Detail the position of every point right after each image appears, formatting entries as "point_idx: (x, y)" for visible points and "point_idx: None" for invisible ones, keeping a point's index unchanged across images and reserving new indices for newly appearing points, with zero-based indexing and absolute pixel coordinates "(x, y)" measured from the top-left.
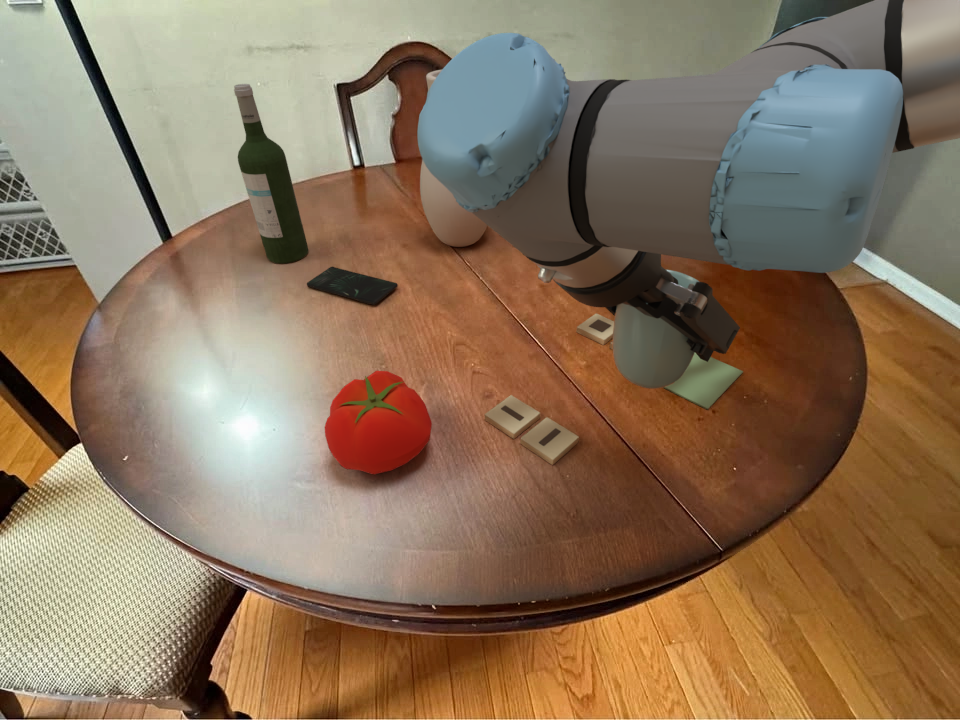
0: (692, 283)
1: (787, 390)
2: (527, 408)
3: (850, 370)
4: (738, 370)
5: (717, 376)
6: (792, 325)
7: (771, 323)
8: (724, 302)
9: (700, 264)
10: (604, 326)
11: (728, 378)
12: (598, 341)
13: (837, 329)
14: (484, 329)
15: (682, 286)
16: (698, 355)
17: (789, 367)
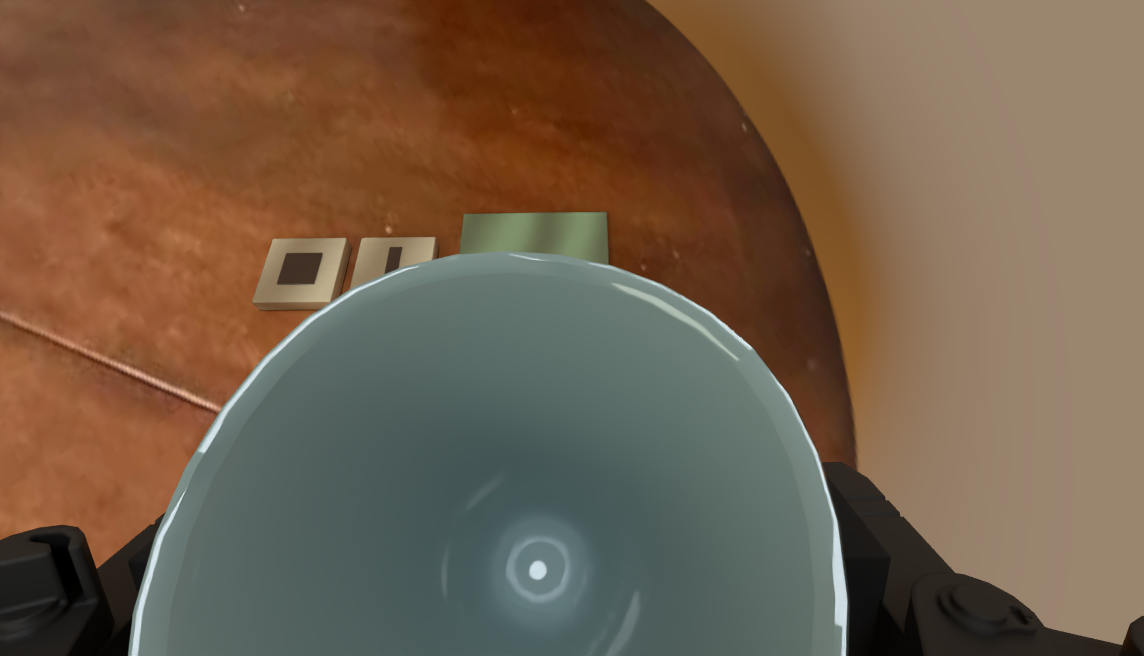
0: (592, 295)
1: (688, 208)
2: None
3: (734, 111)
4: (599, 215)
5: (577, 251)
6: (607, 68)
7: (577, 81)
8: (483, 76)
9: (396, 13)
10: (310, 265)
11: (596, 244)
12: (320, 307)
13: (666, 42)
14: (29, 446)
15: (537, 322)
16: None
17: (659, 157)
